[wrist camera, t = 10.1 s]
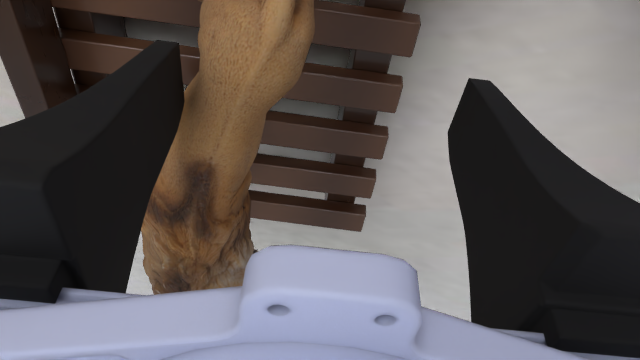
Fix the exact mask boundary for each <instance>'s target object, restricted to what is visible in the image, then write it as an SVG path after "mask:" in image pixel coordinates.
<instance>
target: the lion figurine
mask: <svg viewBox="0 0 640 360" xmlns="http://www.w3.org/2000/svg"><path fill="white" fill-rule="evenodd" d="M198 1H201V2H202V5H201V10H200V29H199V33H198V46H199V51H200V65H199V72H198V73H197V75H196V76H195V77H194V78H193V80H192V81H191V82H190V84H189V85H188V86H187V88H186V90H185V91H184V99H185V103H184V107H183V111H182V116H181V120H180V123H179V127H178V131H177V133H176V136H175V138H174V141H173V143H172V145H171V148H170V150H169V153H168V155H167V157H166V160H165V162H164V165H163V167H162V169H161V172H160V174H159V176H158V179H157V181H156V184H155V186H154V188H153V191H152V194H151V197H150V199H149V203H148V206H147V210H146V213H145V217H144V220H143V224H142V227H141V232H142V237H143V253H144V255H145V257H144V260H143V266H144V269H145V272H146V274H147V275H148V276H149V280H150V283H151V284H152V290H153V293H154V295H155V294H165V293H175V292H186V291H196V290H206V289H216V288H226V287H236V286H242V285H243V279H244V273H245V268H246V265H247V263H248V261H249V259H250V257H251V255H252V254H254V253H256V252H258V251H257V250H255V249H254V246H253V243H252V240H251V231H250V229H249V224H250V214H251V200H250V195H249V191H248V189H249V186H250V183H251V179H252V175H251V171H250V167H251V166H252V164H253V161H254V159H255V157H256V155H257V152H258V149H259V145H260V142H261V138H262V134H263V129H264V124H265V119H266V114H267V112H268V111H269V110H270V109H271V107H272V106H274V105H275V104H276V103H277V102H278V101H279V100H280V99H281V98H282V97H283V96H284V95H285V94H286V93H287V92H288V91H289V90H290V89H291V88H292V87H293V86H294V85H295V84H296V82H297V81H298V79H299V77H300V75H301V73H302V70H303V66H304V63H305V60H306V57H307V54H308V51H309V48H310V45H311V42H312V40H313V36H314V32H315V21H314V0H198Z"/></svg>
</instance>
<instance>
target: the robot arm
mask: <svg viewBox="0 0 640 360" xmlns="http://www.w3.org/2000/svg"><path fill="white" fill-rule="evenodd" d="M184 103H185V99H184V88H183V78H182V68H181V58H180V48H179V43H177V42H169V41H161V40H156V41H155V42H153V43H152V44H151V45H149V46H148V47H147V48H145V49H144V50H143V51H141V52H140V53H139V54H137V55H136V56H135V57H134V58H132V59H131V60H130V61H128V62H127V63H125V64H124V65H123V66H121V67H120V68H119V69H117V70H116V71H114V72H113V73H112V74H110V75H109V76H107V77H105V78H104V79H102V80H101V81H99V82H98V83H96V84H95V85H93V86H92V87H90V88H88V89H87V90H85V91H83V92H82V93H80V94H78V95H76V96H74V97H73V98H71V99H69V100H67V101H65V102H63V103H61V104H59V105H57V106H54V107H52V108H50V109H47V110H45V111H43V112H40V113H38V114H35V115H33V116H30V117H28V118H26V119H23V120H20V121H18V122H15V123H12V124H9V125H6V126H3V127H0V360H640V203H638V202H636V201H634V200H633V199H631V198H629V197H627V196H625V195H623V194H622V193H620V192H618V191H617V190H615V189H613V188H612V187H610V186H608V185H607V184H605V183H604V182H602V181H601V180H599V179H598V178H596V177H595V176H593V175H591V174H590V173H589V172H587V171H586V170H584V169H583V168H582V167H580V166H579V165H578V164H576V163H575V162H574V161H572V160H571V159H570V158H569V157H567V156H566V155H565V154H563V153H562V152H561V151H560V150H559V149H557V148H556V147H555V146H554V145H553V144H552V143H551V142H550V141H549V140H547V139H546V138H545V137H544V136H543V135H542V134H541V133H540V132H539V131H538V130H537V129H536V128H535V127H534V126H533V125H532V124H531V123H530V122H529V121H528V120H527V119H526V118H525V117H524V116H523V115H522V114H521V113H520V112H519V111H518V110H517V109H516V108H515V106H514V105H513V104H512V103H511V102H510V101H509V100H508V99H507V98H506V97H505V96H504V95H503V93H502V92H501V91H500V90H499V89H498V88H497V87H496V86H495V85H494V84H493V83H492V82H491V81H488V80H480V79H472V78H469V79H468V82H467V84H466V87H465V90H464V92H463V95H462V97H461V100H460V102H459V105H458V107H457V110H456V112H455V115H454V118H453V120H452V123H451V125H450V128H449V130H448V147H449V159H450V165H451V170H452V175H453V179H454V184H455V188H456V193H457V197H458V201H459V206H460V210H461V215H462V219H463V224H464V230H465V237H466V247H467V257H468V269H469V282H470V301H471V322H469V321H466V320H463V319H460V318H457V317H453V316H450V315H447V314H444V313H441V312H438V311H434V310H431V309H428V308H425V307H422V306H421V303H420V294H419V285H418V276H417V271H416V270H415V269H414V268H413V267H412V266H411V265H410V264H408V263H407V262H406V261H405V260H403V259H400V258H396V257H393V256H389V255H385V254H377V253H368V252H358V251H348V250H338V249H328V248H319V247H309V246H299V245H275V246H269V247H267V248H264V249H262V250H260V251H258V252H256V253H254V254H252V255H251V257H250V259H249V261H248V263H247V265H246V268H245V273H244V279H243V285H242V286H236V287H226V288H216V289H206V290H196V291H186V292H175V293H165V294H155V295H136V294H126V289H127V284H128V280H129V276H130V271H131V267H132V263H133V259H134V255H135V251H136V247H137V243H138V239H139V235H140V231H141V227H142V224H143V220H144V217H145V213H146V210H147V206H148V203H149V199H150V197H151V194H152V191H153V188H154V186H155V184H156V181H157V179H158V176H159V174H160V172H161V169H162V167H163V165H164V162H165V160H166V157H167V155H168V153H169V150H170V148H171V145H172V143H173V141H174V138H175V136H176V133H177V131H178V127H179V123H180V120H181V116H182V111H183V107H184Z"/></svg>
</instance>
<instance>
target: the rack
mask: <svg viewBox="0 0 640 360" xmlns="http://www.w3.org/2000/svg"><path fill="white" fill-rule="evenodd" d="M405 1H406V0H359V6H357V5H350V4H343V3H336V2H329V1H322V0H314V21H315V32H314V36H313V40H312V42H311V43H313V44H320V45H327V46H334V47H341V48H348V49H350V55H349V60H348V66H347V68H341V67H334V66H327V65H320V64H313V63H304V66H303V70H302V73H301V75H300V77H299V79H298V81H297V82H296V84H295V85H294V86H293V87H292V88H291V89H290V90H289V91H288V92H287V93H286V94H285V95H284V96H283V97H282V98H287V99H294V100H301V101H309V102H316V103H323V104H331V105H338V106H340V109H339V115H338V120H336V119H329V118H321V117H314V116H306V115H299V114H292V113H284V112H277V111H270V110H269V111H268V112H267V114H266V119H265V124H264V129H263V134H262V138H261V142H260V144H268V145H275V146H283V147H290V148H298V149H305V150H313V151H320V152H328V153H331V158H330V163H326V162H319V161H311V160H304V159H296V158H289V157H281V156H274V155H266V154H259V153H257V155H256V157H255V159H254V161H253V164H252V166H251V167H250V171H251V175H252V179H251V183H255V184H262V185H270V186H278V187H285V188H293V189H301V190H308V191H316V192H324V193H325V200H322V199H314V198H307V197H299V196H291V195H284V194H276V193H268V192H260V191H253V190H248V191H249V195H250V200H251V214H250V218H257V219H264V220H272V221H280V222H288V223H296V224H304V225H311V226H319V227H327V228H335V229H343V230H350V231H358V232H361V230H362V227H363V224H364V220H365V217H366V205H360V204H354V201H355V198H356V197H362V198H371V196H372V192H373V189H374V185H375V182H376V169H372V168H364V167H363V166H364V162H365V158H373V159H380V160H381V159H382V158H383V154H384V151H385V147H386V144H387V140H388V127H387V126H380V125H374V123H375V119H376V115H377V111H382V112H389V113H395V112H396V109H397V106H398V102H399V99H400V95H401V92H402V88H403V79H402V76H398V75H391V74H387V72H388V68H389V64H390V60H391V56H392V55H397V56H405V57H411V56H412V53H413V50H414V47H415V43H416V40H417V36H418V33H419V29H420V26H421V22H420V15H418V14H412V13H405V12H403V9H404V5H405ZM201 5H202V2H201V1H198V0H0V56H1V59H2V61H3V64H4V66H5V69H6V71H7V74H8V76H9V79H10V81H11V84H12V86H13V89H14V91H15V94H16V96H17V99H18V101H19V104H20V106H21V109H22V111H23V114H24V116H25V119H26V118H28V117H30V116H33V115H35V114H38V113H40V112H43V111H45V110H47V109H50V108H52V107H54V106H57V105H59V104H61V103H63V102H65V101H67V100H69V99H71V98H73V97H74V96H76V95H78V94H80V93H82V92H83V91H85V90H87V89H88V88H90V87H92V86H93V85H95V84H96V83H98V82H99V81H101V80H102V79H104V78H105V77H107V76H109V75H110V74H112V73H113V72H114V71H116V70H117V69H119V68H120V67H121V66H123V65H124V64H125V63H127V62H128V61H130V60H131V59H132V58H134V57H135V56H136V55H137V54H139V53H140V52H141V51H143V50H144V49H145V48H147V47H148V46H149V45H151V44H152V43H153V42H155V41H148V40H141V39H134V38H127V36H126V31H125V25H124V20H123V17H128V18H135V19H143V20H150V21H157V22H164V23H171V24H178V25H185V26H192V27H199V28H200V10H201ZM52 7H53V8H54V12H55V15H56V19H57V22H58V26H59V28H58V27H57V23H56V20H55V16H54V13H53V9H52ZM179 48H180V58H181V68H182V78H183V84H185V85H189V84H190V82H191V81H192V80H193V78H194V77H195V76H196V75H197V73H198V72H199V65H200V51H199V48H198V47H191V46H184V45H179ZM70 69H71V71H72V74H73V77H74V81H75V84H74V81H73V78H72V75H71V71H70Z"/></svg>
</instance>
